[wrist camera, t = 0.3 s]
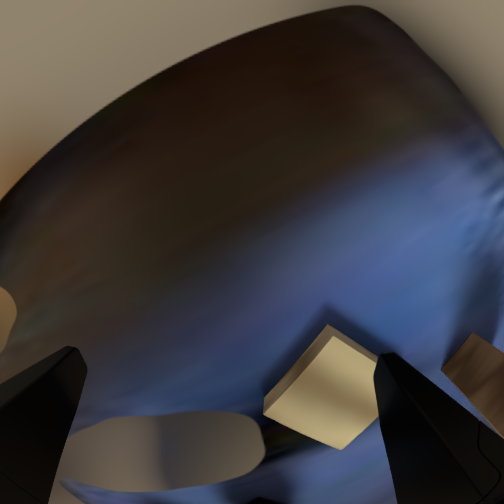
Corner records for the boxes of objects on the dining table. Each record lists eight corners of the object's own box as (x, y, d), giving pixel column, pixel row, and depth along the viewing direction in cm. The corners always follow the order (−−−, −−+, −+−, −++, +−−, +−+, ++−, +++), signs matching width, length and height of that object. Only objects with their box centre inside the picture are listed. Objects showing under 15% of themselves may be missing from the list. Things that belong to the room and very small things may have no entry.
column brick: (459, 390, 23) (519, 458, 10) (440, 369, 23) (510, 444, 10) (488, 355, 22) (558, 411, 9) (472, 332, 22) (554, 389, 9)
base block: (336, 431, 25) (340, 450, 22) (264, 395, 25) (263, 414, 22) (397, 367, 23) (408, 383, 20) (326, 321, 23) (333, 335, 20)
